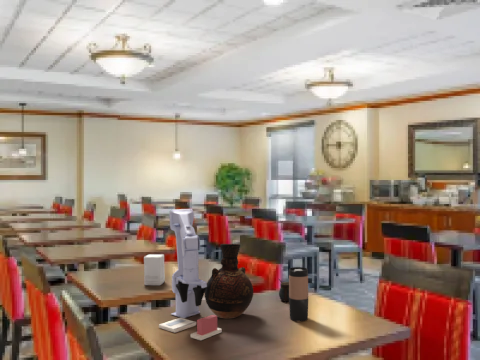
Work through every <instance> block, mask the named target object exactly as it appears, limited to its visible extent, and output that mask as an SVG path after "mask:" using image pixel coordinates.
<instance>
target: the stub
mask: <svg viewBox="0 0 480 360" xmlns="http://www.w3.org/2000/svg"><path fill="white" fill-rule="evenodd" d="M222 329H223V328H220V327H218V316H216V315H215V314H211V315H207V316H204V317H201V318H198V319H197V320H196V331H195V332H193V333H192V332H191V333H190V338H191V339H195V340H197V341H203V340H205V339H208V338H211V337H212V336H215V335H219V334H220V333H222V332H223V331H222Z"/></svg>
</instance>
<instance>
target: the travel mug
mask: <svg viewBox="0 0 480 360" xmlns="http://www.w3.org/2000/svg"><path fill="white" fill-rule="evenodd" d="M288 270H289V271H288V274H289V275H288V282H289V302H288V303H289V305H288V306H289V318H290V320H291V321H294V322H306V321H308V319H309V317H308V316H309V269H308V268H307V267H302V266H301V267H300V266H296V267H295V266H293V267H289V269H288Z"/></svg>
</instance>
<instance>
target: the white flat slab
mask: <svg viewBox="0 0 480 360" xmlns="http://www.w3.org/2000/svg"><path fill="white" fill-rule="evenodd" d="M195 326H197V321H193V320H189V319H187V318H181V317H178V318H175V319H172V320H169V321H166V322H162V323H159V324H158V328H159V329H162V330H164V331H168V332H172V333H178V332H181V331H183V330H186V329H189V328H193V327H195Z"/></svg>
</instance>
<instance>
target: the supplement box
mask: <svg viewBox="0 0 480 360" xmlns="http://www.w3.org/2000/svg"><path fill="white" fill-rule="evenodd" d="M143 268H144V269H143V276H144V286H161V285H163V284H164V282H165V279H166V278H165V254H147V255H144V257H143Z"/></svg>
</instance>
